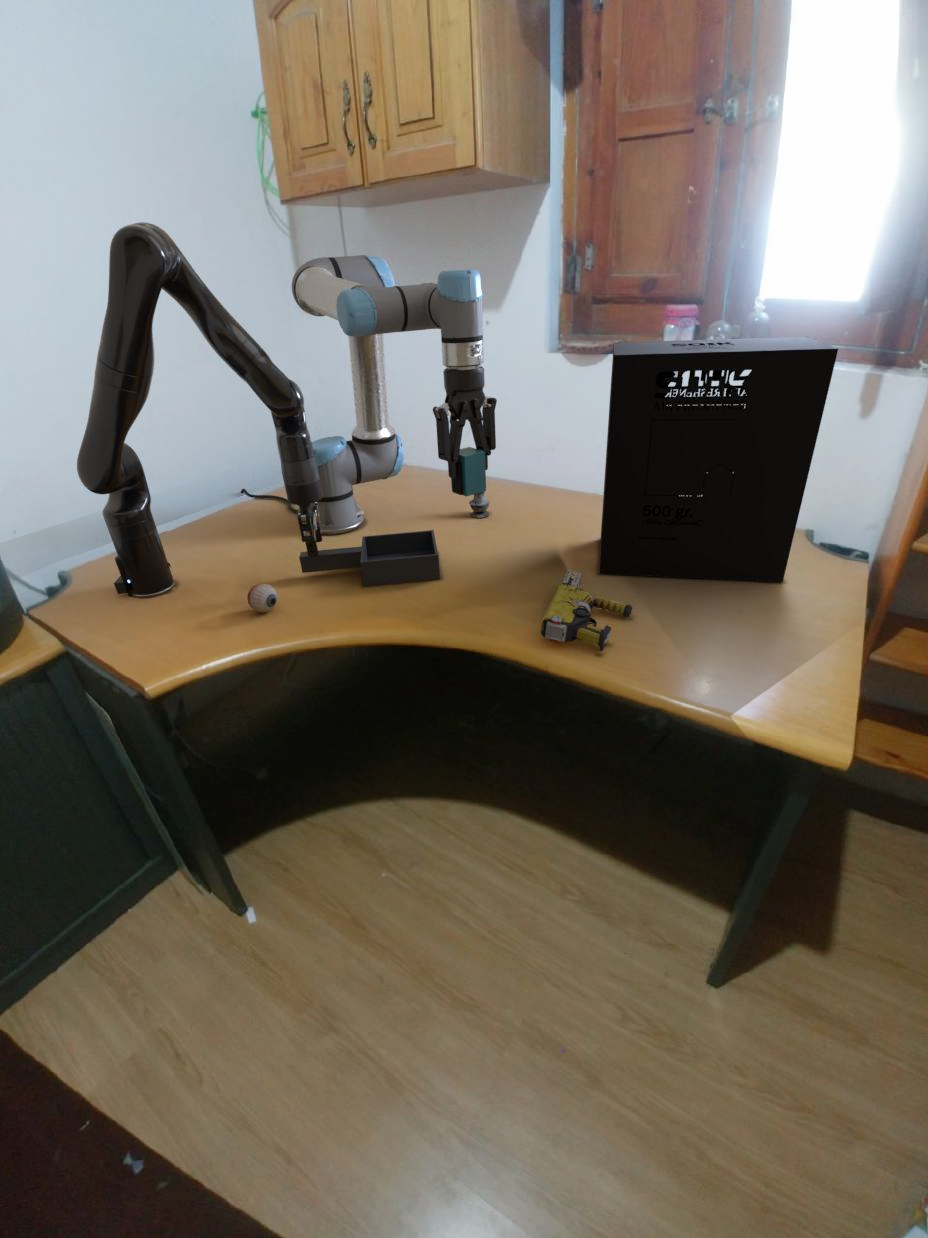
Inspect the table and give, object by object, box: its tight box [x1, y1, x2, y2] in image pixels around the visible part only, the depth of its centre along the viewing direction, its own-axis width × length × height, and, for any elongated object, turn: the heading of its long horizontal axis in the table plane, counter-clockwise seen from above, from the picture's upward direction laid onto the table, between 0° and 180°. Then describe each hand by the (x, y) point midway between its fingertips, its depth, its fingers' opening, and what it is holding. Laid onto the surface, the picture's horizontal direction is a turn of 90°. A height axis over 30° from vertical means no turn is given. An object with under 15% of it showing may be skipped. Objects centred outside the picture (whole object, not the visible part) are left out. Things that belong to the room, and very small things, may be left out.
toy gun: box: [540, 570, 633, 652], centre depth 116 cm, size 5×24×15 cm
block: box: [450, 446, 487, 498], centre depth 120 cm, size 5×5×8 cm
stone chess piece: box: [468, 491, 491, 519], centre depth 168 cm, size 6×6×12 cm
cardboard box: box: [598, 335, 839, 583], centre depth 128 cm, size 38×20×45 cm, turn 78°
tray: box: [299, 529, 441, 587], centre depth 140 cm, size 31×15×6 cm, turn 96°
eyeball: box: [246, 583, 279, 613], centre depth 126 cm, size 6×6×6 cm
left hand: (315, 548), depth 137 cm, fingers open, 8 cm apart
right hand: (469, 489), depth 122 cm, fingers closed on block, 5 cm apart
